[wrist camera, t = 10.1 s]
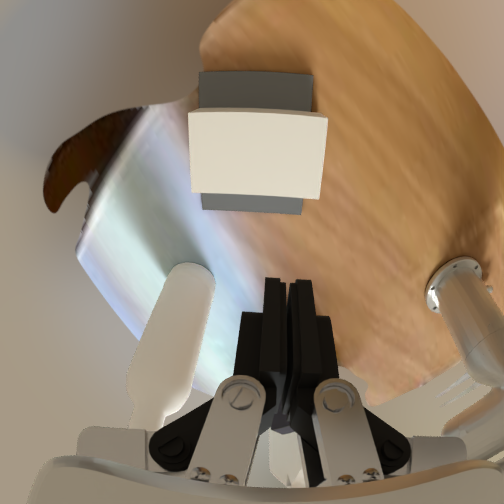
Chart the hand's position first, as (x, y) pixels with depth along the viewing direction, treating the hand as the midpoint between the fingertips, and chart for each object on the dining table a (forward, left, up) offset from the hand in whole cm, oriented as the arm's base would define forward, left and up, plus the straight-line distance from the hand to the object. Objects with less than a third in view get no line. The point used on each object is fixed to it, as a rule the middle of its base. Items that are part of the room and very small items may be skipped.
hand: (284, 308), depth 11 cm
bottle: (+12, +22, -27) cm, 37 cm away
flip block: (-5, 0, -24) cm, 24 cm away
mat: (+3, 0, -27) cm, 27 cm away
